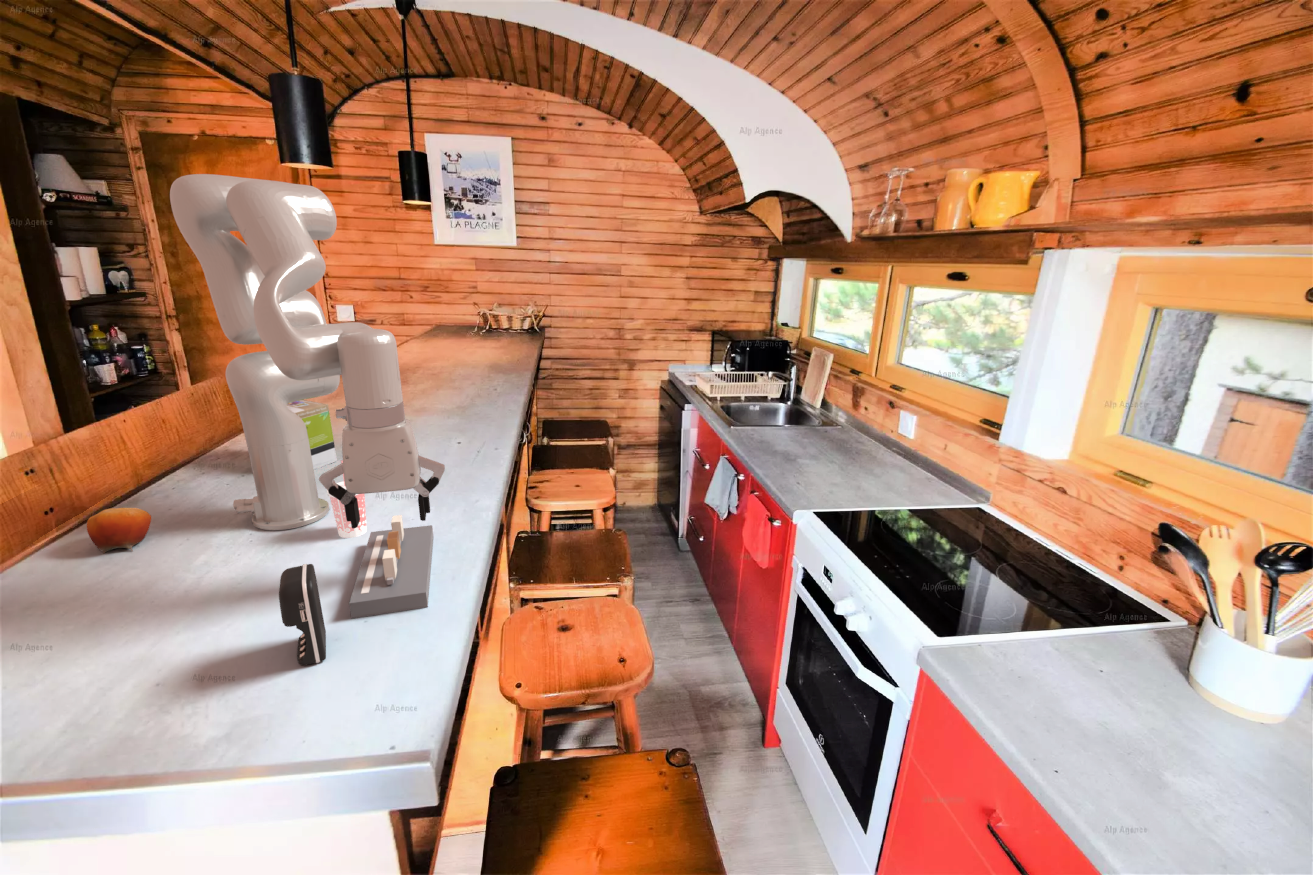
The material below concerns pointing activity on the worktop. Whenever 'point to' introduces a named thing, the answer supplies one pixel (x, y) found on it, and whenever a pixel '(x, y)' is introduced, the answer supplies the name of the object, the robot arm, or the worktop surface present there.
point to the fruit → (118, 528)
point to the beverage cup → (340, 515)
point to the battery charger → (303, 612)
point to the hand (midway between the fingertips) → (390, 520)
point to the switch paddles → (393, 549)
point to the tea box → (317, 430)
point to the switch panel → (410, 577)
